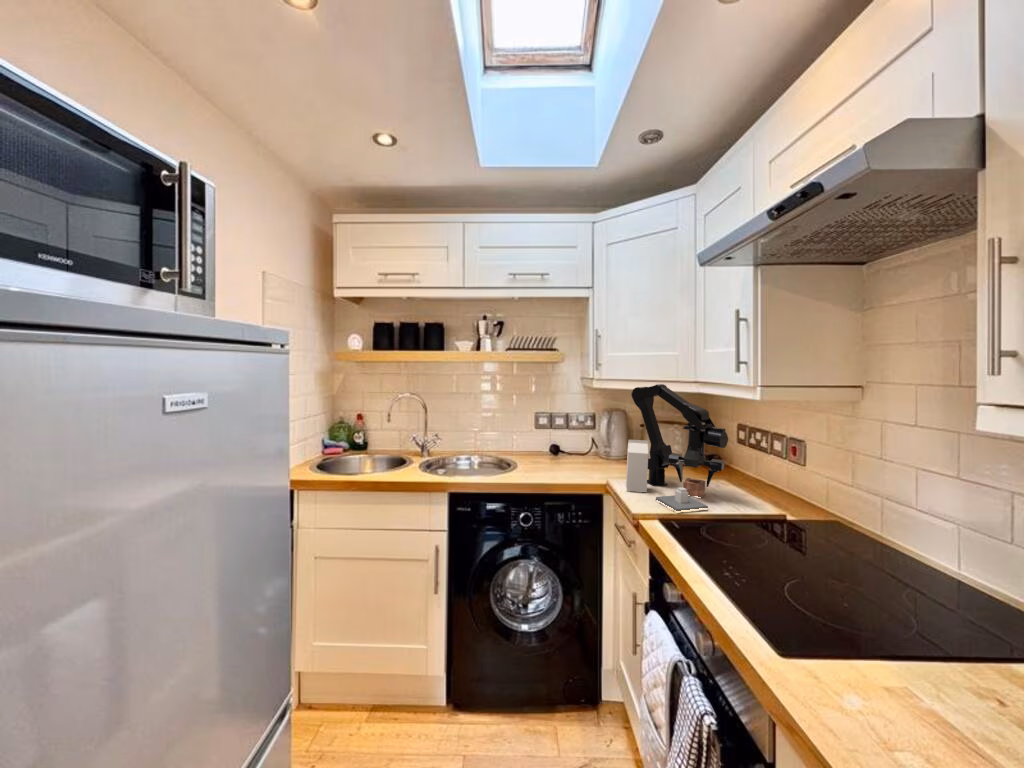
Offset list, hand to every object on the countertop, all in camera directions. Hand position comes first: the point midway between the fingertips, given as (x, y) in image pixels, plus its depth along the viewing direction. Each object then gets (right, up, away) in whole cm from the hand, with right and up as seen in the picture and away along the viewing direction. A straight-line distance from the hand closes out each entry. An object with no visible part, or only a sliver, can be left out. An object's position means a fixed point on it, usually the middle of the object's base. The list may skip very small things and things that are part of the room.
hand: (694, 484), depth 169 cm
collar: (0, -4, 0) cm, 4 cm away
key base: (-9, -5, -12) cm, 15 cm away
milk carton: (-20, -3, +5) cm, 21 cm away
